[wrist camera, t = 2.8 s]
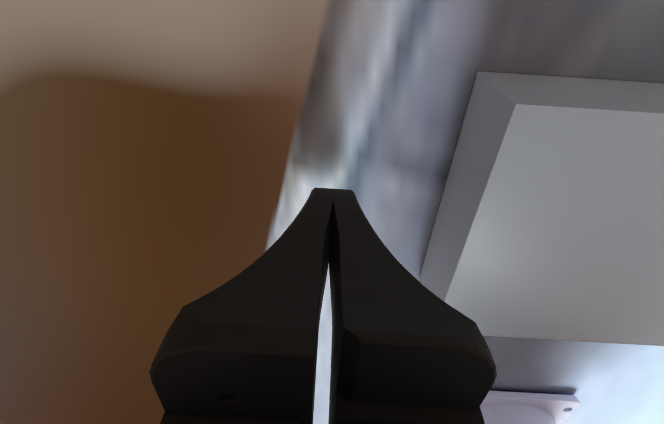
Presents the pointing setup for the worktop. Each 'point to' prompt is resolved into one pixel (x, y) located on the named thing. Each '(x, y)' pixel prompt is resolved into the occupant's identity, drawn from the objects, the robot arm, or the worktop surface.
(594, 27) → the worktop surface
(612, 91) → the flat grey cuboid
